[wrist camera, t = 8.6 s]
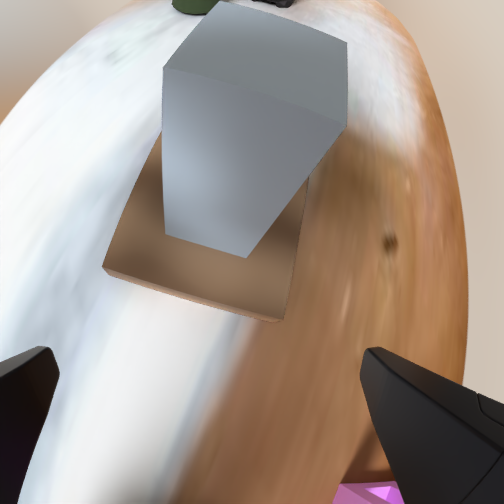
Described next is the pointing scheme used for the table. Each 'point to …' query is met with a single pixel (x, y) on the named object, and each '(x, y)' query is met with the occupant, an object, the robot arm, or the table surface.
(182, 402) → the table surface
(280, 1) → the portable speaker
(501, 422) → the robot arm
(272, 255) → the plinth
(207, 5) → the character mug
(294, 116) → the block
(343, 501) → the bracket
